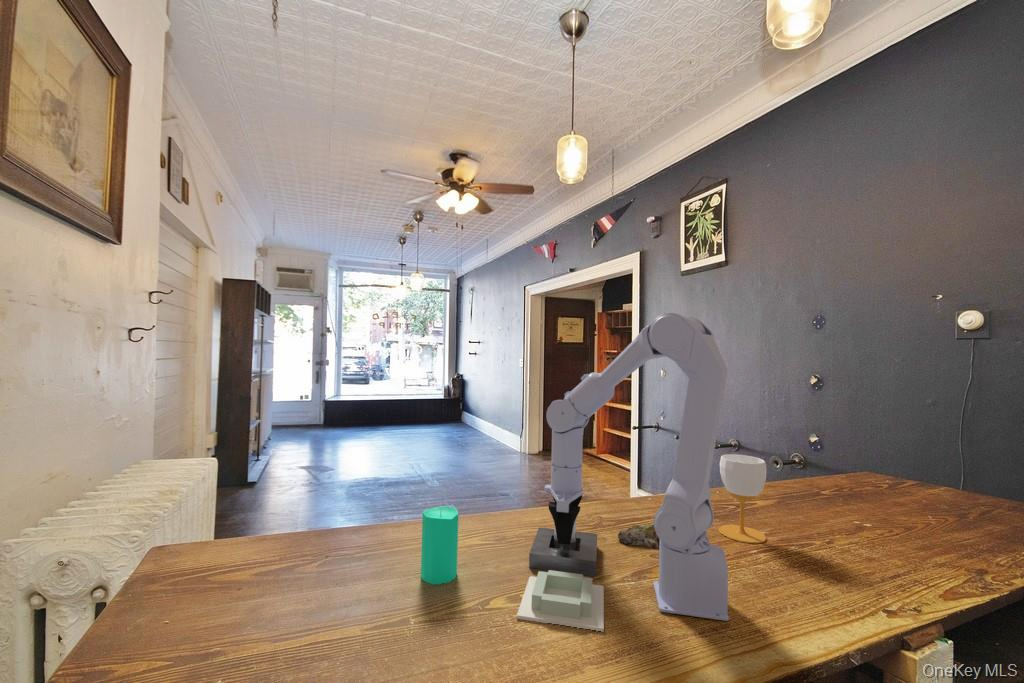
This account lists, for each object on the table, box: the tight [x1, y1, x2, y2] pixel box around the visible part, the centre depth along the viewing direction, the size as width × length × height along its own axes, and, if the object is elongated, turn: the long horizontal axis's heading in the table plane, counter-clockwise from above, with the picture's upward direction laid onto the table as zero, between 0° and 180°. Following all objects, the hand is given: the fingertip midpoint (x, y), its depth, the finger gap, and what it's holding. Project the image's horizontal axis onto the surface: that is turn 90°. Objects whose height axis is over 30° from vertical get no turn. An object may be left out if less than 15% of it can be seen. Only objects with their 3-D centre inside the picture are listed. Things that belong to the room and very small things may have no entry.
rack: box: [516, 570, 605, 633], centre depth 65 cm, size 12×11×2 cm
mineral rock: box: [617, 523, 660, 549], centre depth 88 cm, size 11×4×8 cm
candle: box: [420, 502, 460, 585], centre depth 72 cm, size 6×6×12 cm
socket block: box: [528, 527, 598, 577], centre depth 80 cm, size 12×12×2 cm
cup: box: [718, 453, 768, 544], centre depth 92 cm, size 9×9×16 cm
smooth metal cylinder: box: [554, 519, 577, 551], centre depth 80 cm, size 4×4×8 cm
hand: (565, 537), depth 80 cm, fingers closed on smooth metal cylinder, 4 cm apart
